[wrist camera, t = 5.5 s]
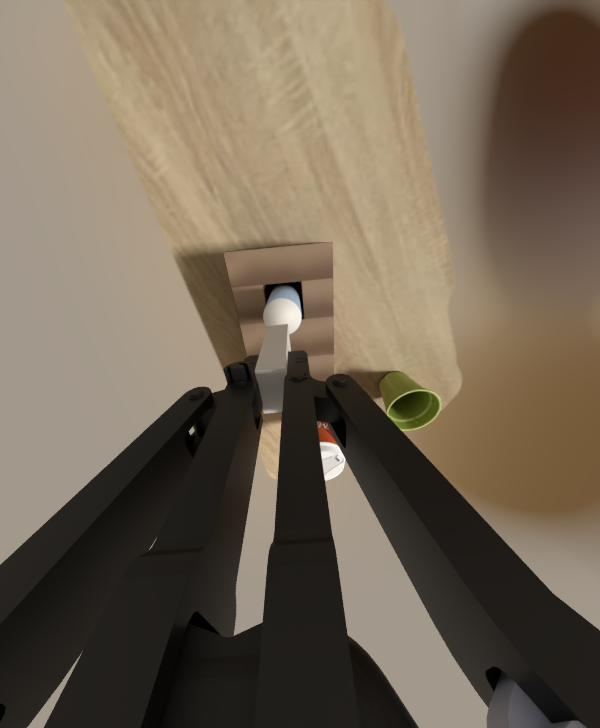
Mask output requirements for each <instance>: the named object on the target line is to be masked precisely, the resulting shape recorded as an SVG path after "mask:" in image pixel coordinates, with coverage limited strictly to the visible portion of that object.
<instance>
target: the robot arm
mask: <svg viewBox="0 0 600 728" xmlns="http://www.w3.org/2000/svg"><path fill="white" fill-rule="evenodd" d="M223 370H224V373H225V376H226V380H227V383H228V384H227V386H226V388H225V389H224V390H221V391H218V392H214V393H212V392H211V390H210V389H209V388H208V387H197V388H194V389H192V390H190V391H188V392H186V393H185V394H184V395H183V396H182V397H181V398H180V399H178V400H177V401H176V402H175V403H174V404H173V405H172V406H171V407H170V408H169V409H168V410H167V411H166V412H164V414H162V415H161V416H160V417H159V418H158V419H157V420H156V421H155V422H154V423H153V424H152V425H150V426H149V427H148V428H147V429H146V430H145V431H144V432H143V433H142V434H141V435H140V436H139V437H138V438H136V439H135V440H134V441H133V442H132V443H131V444H130V445H129V446H128V447H127V448H126V449H125V450H124V451H122V452H121V453H120V454H119V455H118V456H117V457H116V458H115V459H114V460H113V461H112V462H111V463H110V464H108V466H106V467H105V468H104V469H103V470H102V471H101V472H100V473H99V474H98V475H97V476H96V477H94V478H93V479H92V480H91V481H90V482H89V483H88V484H87V485H86V486H85V487H84V488H83V489H82V490H81V491H79V492H78V494H76V495H75V496H74V497H73V498H72V499H71V500H70V501H69V502H68V503H66V504H65V505H64V506H63V507H62V508H61V509H60V510H59V511H58V512H57V513H56V514H55V515H54V516H53V517H51V518H50V519H49V520H48V521H47V522H46V523H45V524H44V525H43V526H42V527H41V528H40V529H39V530H37V531H36V532H35V533H34V534H33V535H32V536H31V537H30V538H29V539H28V540H27V541H26V542H25V543H23V544H22V545H21V546H20V547H19V548H18V549H17V550H16V551H15V552H14V553H13V554H12V555H11V556H10V557H8V559H6V560H5V561H4V562H3V563H2V564H1V565H0V728H27V727H28V726H29V724H30V723H31V722H32V720H33V719H34V718H35V716H36V715H37V714H38V712H39V711H40V710H41V708H42V707H43V706H44V704H45V703H46V702H47V700H48V699H49V698H50V697H51V695H52V694H53V692H54V691H55V690H56V689H57V687H58V686H59V685H60V683H61V682H62V680H63V679H64V677H65V676H66V674H67V673H68V672H69V670H70V669H71V667H72V666H73V664H74V663H75V661H76V660H77V658H78V657H79V656H80V654H81V653H82V654H81V656H80V658H79V660H78V662H77V664H76V666H75V668H74V670H73V672H72V674H71V676H70V678H69V680H68V681H67V684H66V686H65V687H64V689H63V691H62V693H61V695H60V697H59V699H58V701H57V703H56V705H55V707H54V709H53V711H52V713H51V715H50V717H49V719H48V720H47V723H46V724H45V726H44V728H419V727H418V726H417V724H416V723H415V721H414V720H413V718H412V716H411V715H410V714H409V712H408V710H407V709H406V707H405V706H404V704H403V703H402V701H401V700H400V698H399V696H398V695H397V693H396V692H395V690H394V689H393V687H392V686H391V684H390V683H389V681H388V680H387V678H386V676H385V675H384V674H383V672H382V671H381V669H380V668H379V667H378V665H377V664H376V663H375V662H374V660H373V659H372V658H371V657H370V655H369V654H368V653H367V652H366V651H365V650H364V649H363V648H362V647H361V646H360V645H359V644H358V643H357V642H356V641H354V640H353V639H352V638H351V637H349V636H348V635H347V628H346V621H345V615H344V607H343V600H342V592H341V585H340V578H339V571H338V564H337V557H336V550H335V545H334V540H333V536H332V530H331V523H330V515H329V508H328V501H327V494H326V486H325V478H324V471H323V463H322V456H321V448H320V441H319V433H318V426H317V421H321V422H327V425H328V427H329V429H330V431H331V433H332V435H333V437H334V439H335V440H336V442H337V444H338V446H339V448H340V450H341V452H342V453H343V455H344V457H345V459H346V461H347V463H348V465H349V466H350V468H351V470H352V472H353V474H354V476H355V478H356V480H357V481H358V483H359V485H360V487H361V489H362V491H363V492H364V494H365V496H366V498H367V500H368V502H369V504H370V505H371V507H372V509H373V511H374V513H375V515H376V517H377V518H378V520H379V522H380V524H381V526H382V528H383V530H384V532H385V533H386V535H387V537H388V539H389V541H390V543H391V545H392V546H393V548H394V550H395V552H396V554H397V556H398V558H399V559H400V561H401V563H402V565H403V567H404V569H405V571H406V572H407V574H408V576H409V578H410V580H411V582H412V583H413V586H414V587H415V589H416V591H417V593H418V595H419V597H420V599H421V600H422V602H423V604H424V606H425V608H426V610H427V612H428V613H429V615H430V617H431V619H432V621H433V623H434V625H435V626H436V628H437V630H438V631H439V633H440V635H441V637H442V638H443V640H444V641H445V643H446V645H447V647H448V649H449V650H450V652H451V654H452V655H453V657H454V659H455V660H456V662H457V663H458V665H459V666H460V668H461V669H462V671H463V672H464V674H465V675H466V677H467V678H468V680H469V681H470V683H471V684H472V686H473V687H474V689H475V690H476V692H477V693H478V695H479V696H480V697H481V698H482V700H483V701H484V703H485V704H486V705H487V706H488V708H489V709H488V714H487V728H600V631H599V630H598V629H597V628H596V627H595V626H593V625H592V624H591V623H590V622H588V621H587V620H586V619H585V618H583V617H582V616H581V615H579V614H578V613H577V612H576V611H574V610H573V609H572V608H571V607H569V606H568V605H567V604H566V603H564V602H563V601H562V600H560V599H559V598H558V597H556V596H555V595H554V594H553V593H552V592H551V591H550V590H549V589H548V588H547V587H546V585H545V584H544V583H543V582H542V581H541V580H540V579H539V578H538V577H537V576H536V575H535V574H534V573H533V572H532V570H531V569H530V568H529V567H528V566H527V565H526V564H525V563H524V562H523V561H522V560H521V559H520V558H519V556H518V555H517V554H516V553H515V552H514V551H513V550H512V549H511V548H510V547H509V546H508V545H507V544H506V543H505V542H504V541H503V539H502V538H501V537H500V536H499V535H498V534H497V533H496V532H495V531H494V530H493V529H492V527H491V526H490V525H489V524H488V523H487V522H486V521H485V520H484V519H483V518H482V517H481V516H480V515H479V514H478V512H477V511H476V510H475V509H474V508H473V507H472V506H471V505H470V504H469V503H468V502H467V501H466V500H465V499H464V497H463V496H462V495H461V494H460V493H459V492H458V491H457V490H456V489H455V488H454V487H453V486H452V485H451V484H450V483H449V481H448V480H447V479H446V478H445V477H444V476H443V475H442V474H441V473H440V472H439V471H438V470H437V468H436V467H435V466H434V465H433V464H432V463H431V462H430V461H429V460H428V459H427V458H426V457H425V455H424V454H423V453H422V452H421V451H420V450H419V449H418V448H417V447H416V446H415V445H414V444H413V443H412V442H411V441H410V439H408V437H407V436H406V435H405V434H404V433H403V432H402V431H401V430H400V429H399V428H398V426H397V425H396V424H395V423H394V422H393V421H392V420H391V419H390V418H389V417H388V416H387V415H386V414H385V413H384V411H383V410H382V409H381V408H380V407H379V406H378V405H377V404H376V403H375V402H374V401H373V400H372V399H371V397H370V396H369V395H368V394H367V393H366V392H365V391H364V390H363V389H362V388H361V387H360V386H359V385H358V384H357V382H356V381H355V380H354V379H353V378H351V377H350V376H348V375H345V374H334V375H331V376H329V377H328V378H327V379H326V381H319V380H316V379H314V378H312V377H311V375H310V371H309V363H308V356H307V353H306V352H305V351H304V350H299V351H291V347H290V338H289V330H288V324H283V325H272V326H268V327H267V331H266V334H265V337H264V341H263V344H262V347H261V351H260V354H259V355H250V356H248V357H247V358H246V359H244V361H243V362H235V363H232V364H230V365H228V366H226V367H225V368H224V369H223ZM262 407H263V412H264V414H266V413H278V412H282V423H281V439H280V455H279V470H278V487H277V502H276V517H275V532H274V540H273V543H272V544H271V546H270V550H269V555H268V565H267V576H266V589H265V601H264V613H263V623H261V624H258V625H256V626H254V627H252V628H250V629H248V630H246V631H243V632H241V633H240V634H237V635H235V636H233V635H234V628H235V620H236V593H235V592H236V581H237V574H238V567H239V562H240V556H241V550H242V544H243V537H244V532H245V526H246V519H247V513H248V507H249V501H250V495H251V489H252V483H253V477H254V471H255V465H256V458H257V452H258V446H259V440H260V434H261V428H262V422H263V419H262V414H261V411H262ZM192 427H194V430H195V431H194V433H193V434H192V435H190V434H189V430H190V429H191V428H192ZM157 536H158V537H157ZM156 538H157V539H156ZM155 539H156V541H155ZM154 541H155V543H154ZM153 543H154V544H153ZM152 544H153V546H152ZM151 546H152V548H151V549H150V547H151ZM149 549H150V550H149ZM148 550H149V551H148ZM82 651H83V652H82Z"/></svg>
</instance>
